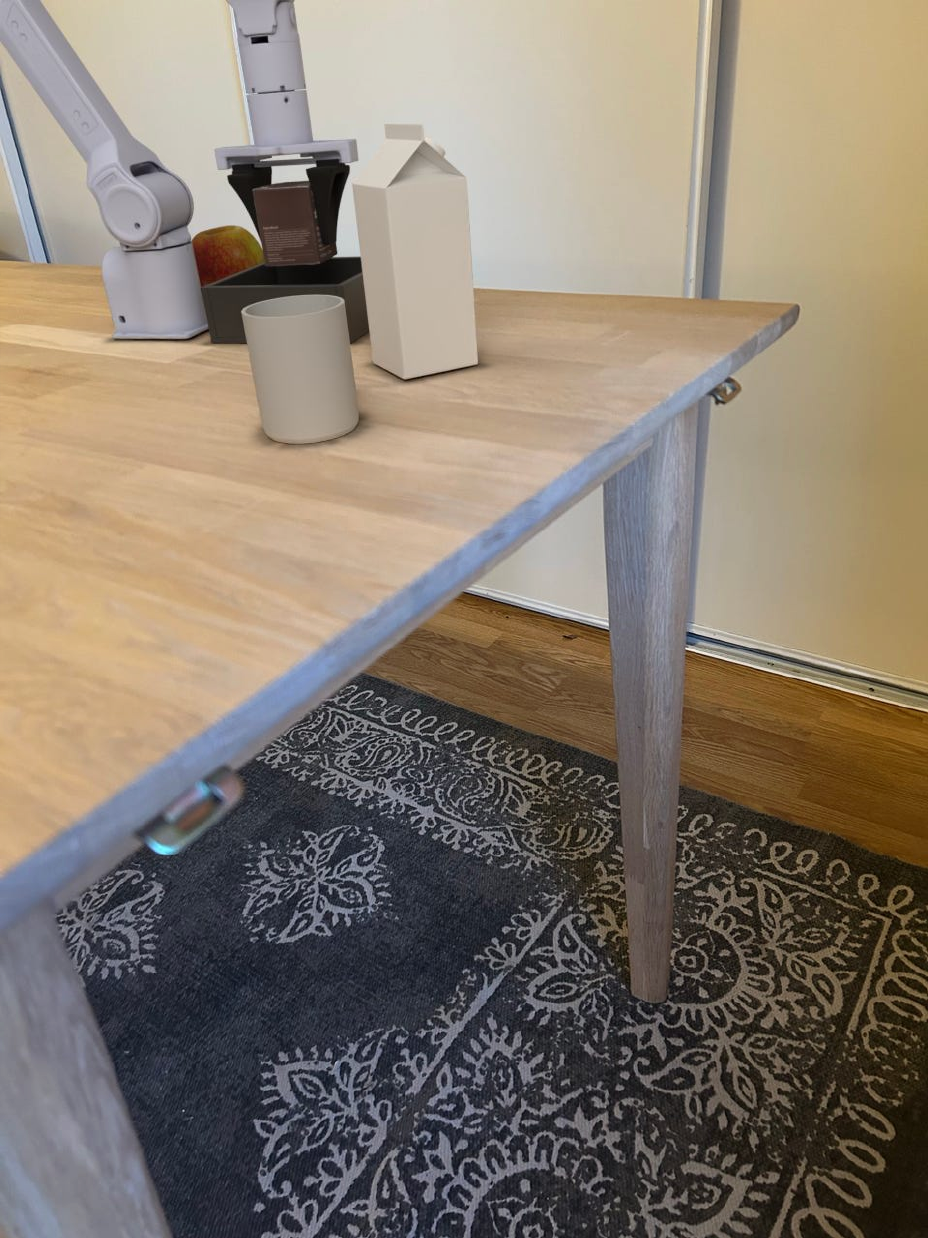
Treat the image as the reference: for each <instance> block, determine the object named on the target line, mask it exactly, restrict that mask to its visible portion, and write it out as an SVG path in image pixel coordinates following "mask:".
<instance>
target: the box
mask: <svg viewBox="0 0 928 1238" xmlns="http://www.w3.org/2000/svg"><path fill="white" fill-rule="evenodd" d="M253 196H254V203H255V209H256V215H257V221H258V227H259V233H260V238H259V240H260V239H261V241H260V245H261V248H262V250H263V256H264V263H265V266H289V265H314V264H320V263H322V262H325V261H326V260H328V259H330V258H332V257H336V256H337V255H338V246H337V242H334V243H332V244H330V245H323V243H322V240H321V235H320V231H319V223H318V215H317V208H316V204H315V200H314V196H313V192H312V189H311V185H310V182H309V180H296V181H295V180H294V181H285V182H274V183H272V184H271V185H265V186H261V187H258V188H255V189H253Z"/></svg>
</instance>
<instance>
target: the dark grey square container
mask: <svg viewBox="0 0 928 1238" xmlns="http://www.w3.org/2000/svg"><path fill="white" fill-rule="evenodd" d="M200 289H201V294H202V299H203V303H204V308H205V313H206V318H207V323H208V328H209V329H208V332H209V333H208V334H209V338H210V343H211V344H247V340H246V335H245V329H244V324H243V319H242V313H241V311H242V310H243V308H245V307H247V306H249V305H252V304H255V303H258V302H261V301H265V300H270V299H275V298H281V297H289V296H299V295H331V296H337V297H341V298H343V299H344V301H345V309H346V317H347V324H348V332H349V340H350V345H351V344H352V343H355V342H356V341H357V340H359V339H360V338H361V337H363V336H364V335H366V334H368V333H370V332H369V323H368V315H367V306H366V298H365V289H364V280H363V272H362V263H361V255H359V256H334V257H332V258H330V259H328V260H326V261H325V262H322V263H320V264H314V265H289V266H265V263H264V262H262V263H260V264H257V265H255V266H252V267H250V268H248V269H245V270H243V271H240V272H238V273H235V274H233V275H230V276H228V277H225V278H223V279H221V280H218V281H216V282H213V283H211V284H208V285H206V286H203V287H201V288H200Z"/></svg>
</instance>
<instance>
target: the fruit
mask: <svg viewBox="0 0 928 1238" xmlns="http://www.w3.org/2000/svg"><path fill="white" fill-rule="evenodd" d="M191 242H192V245H193V250H194V255H195V260H196V264H197V269H198V274H199V279H200V284H201V287H203V286H206V285H208V284H211V283H213V282H216V281H218V280H221V279H223V278H225V277H228V276H230V275H233V274H235V273H238V272H240V271H243V270H245V269H248V268H250V267H252V266H255V265H257V264H260V263H262V262H264V256H263V250H262V245H261V243H260V242H259V241H258V239H257V238H256V237H255V235H253V234H252V233H251V232H250V231H249V230H248V229H246V228H244V227H242V226H240V225H235V224H234V225H223V226H218V227H214V228H209V229H205V230H203V231H199V232H198V233H196V234H195V235H194V236H193V238H191Z"/></svg>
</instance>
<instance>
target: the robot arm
mask: <svg viewBox="0 0 928 1238" xmlns="http://www.w3.org/2000/svg"><path fill="white" fill-rule="evenodd" d="M225 1H226V3H227V4H228V5H229V6H230V7H231V8H232V12H233V19H234V24H235V25H234V26H235V31H236V40H237V47H238V53H239V59H240V65H241V72H242V77H243V83H244V89H245V96H246V102H247V110H248V115H249V120H250V128H251V133H252V139H253V144H247V145H246V144H245V145H235V146H234V145H233V146H223V147H218V148H217V147H216V148H214V149H213V151H214V157H215V162H216V168H217V170H218V171H225V170H230V169H231V174H227V175H226V178H227V182H228V184H229V185H230V187H231V188H232V189H233V191H234V192H235V194H236V195H237V196H238V198H239V199H240V201H241V203H242V204H243V206H244V208H245V210H246V211H247V213H248V216H249V217H250V220H251V222H252V224H253V226H254V228H255V231H256V233H257V235H258V238H259V241H260V242H261V239H260V233H259V227H258V221H257V215H256V209H255V203H254V196H253V189H255V188H258V187H261V186H265V185H271V184H273V183H272V180H273V179H272V178H273V168H272V167H285V166H286V167H287V166H303V165H305V166H306V165H315V166H312V167H308V168H305V173H306V177H307V179H308V181H309V182H310V185H311V189H312V192H313V196H314V200H315V204H316V208H317V215H318V223H319V231H320V235H321V240H322V243H323V245H330V244H332V243H334V242H336V243H337V238H338V236H337V235H338V221H339V214H340V209H341V208H340V207H341V203H342V198H343V194H344V190H345V187H346V184H347V181H348V178H349V176H350V174H351V173H350V172H351V166H350V164H352V163H356V162H359V151H358V142H357V139H356V138H349V139H325V140H324V139H323V140H322V139H321V140H314V137H313V136H314V135H313V129H312V122H311V121H312V120H311V114H310V106H309V99H308V91H307V83H306V76H305V67H304V61H303V55H302V47H301V38H300V33H299V31H298V23H297V16H296V8H295V3H294V2H295V0H225ZM0 43H1V45H2V46H3V47H4V49H5V50H6V51H7V53H8V54H9V56H10V57H11V59H12V60H13V61H14V63H15V64H16V65H17V67H18V69H19V70H20V72H21V73H22V74H23V76H24V77H25V78H26V80H27V81H28V83H29V84H30V86H31V87H32V88H33V90H34V91H35V93H36V94H37V95H38V97H39V98H40V99H41V101H42V102H43V104H44V105H45V107H46V108H47V110H48V111H49V112H50V114H51V115H52V116H53V118H54V120H55V121H56V122H57V123H58V125H59V127H60V128H61V129H62V131H63V132H64V134H65V135H66V136H67V138H68V139H69V140H70V142H71V143H72V145H73V146H74V148H75V149H76V150H77V152H78V153H79V155H80V156H81V158H82V159H83V160H84V162H85V163H86V187H87V189H88V190H89V191H90V193H91V194H92V196H93V197H94V199H95V201H96V203H97V206H98V209H99V214H100V218H101V221H102V223H103V225H104V227H105V229H106V230H107V232H108V233H109V234H110V235H111V236H112V237H113V238H114V239H115V240H116V241H117V242H119V246H115V247H112V248H110V249H108V250H107V251H106V253H105V254H104V256H103V257H102V258H103V259H102V263H101V278H102V282H103V283H102V284H103V287H104V291H105V295H106V298H107V303H108V307H109V312H110V314H111V318H112V319H111V320H112V322H113V327H114V331H115V332H113V333H112V334H111V338H112V339H114V340H115V339H118V340H120V339H121V340H126V339H127V340H187V339H190V338H192V337H195V336H196V335H199V334H201V333H203V332H205V331H207V330H209V328H208V323H207V318H206V313H205V308H204V303H203V299H202V294H201V289H200V288H201V284H200V279H199V274H198V269H197V264H196V260H195V255H194V250H193V245H192V242H191V241H192V235H191V234H190V232H189V228H188V226H189V225H190V223H191V221H192V219H193V216H194V212H195V203H194V198H193V193H192V192H191V190H190V188H189V186H188V185H187V183H186V182H185V181H184V180H183V179H182V177H180V176H179V175H178V174H176V173H175V172H173V171H171V170H169V168H167V167H166V166H165V165H164V164H163V162H162V161H161V160H160V158H159V156H157V154H156V153H155V152H154V151H153V150H152V149H150V148H149V147H147V146H146V145H145V144H143V143H142V142H140V141H139V140H138V139H136V137H134V136H133V135H132V133H131V132H130V131H129V129H128V127H127V126H126V125H125V123H124V122H123V120H122V118H121V117H120V115H119V114H118V113H117V111H116V110H115V109H114V107H113V105H112V104H111V102H110V101H109V99H108V97H106V95H105V93H104V92H103V91H102V89H101V88H100V86H99V84H98V83H97V82H96V81H95V79H94V77H93V76H92V74H91V73H90V72H89V70H88V68H87V67H86V66H85V64H84V62H83V61H82V60H81V58H80V56H79V55H78V54H77V52H76V51H75V50H74V48H73V46H72V45H71V44H70V42H69V41H68V39H67V38H66V36H65V34H64V33H63V31H62V30H61V29H60V27H59V25H58V24H57V23H56V21H55V20H54V18H53V17H52V16H51V14H50V13H49V11H48V9H46V7H45V5H44V4H43V2H42V1H41V0H0ZM289 155H292V156H293V155H299V157H300V158H290V159H272V158H273V157H279V156H289ZM268 159H271V160H268Z"/></svg>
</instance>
